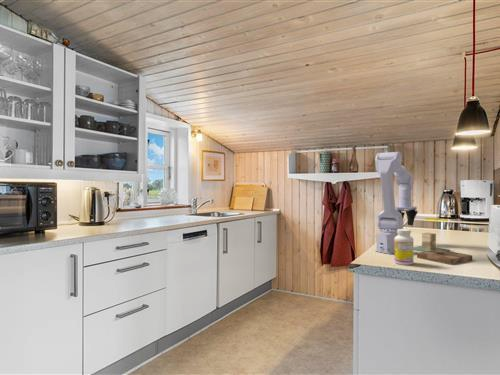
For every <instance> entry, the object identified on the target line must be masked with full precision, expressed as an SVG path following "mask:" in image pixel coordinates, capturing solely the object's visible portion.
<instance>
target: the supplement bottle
mask: <svg viewBox="0 0 500 375" xmlns="http://www.w3.org/2000/svg"><path fill="white" fill-rule="evenodd" d="M411 231H412V230H411V229H408V228H403V229H397V233H398V236H396V237H395V253H394V263H395V264H397V265H402V266H411V265H413V264H414V260H415V258H414V253H415V252H414V251H415V250H413V247H414V238H413V237H412V235H411V233H412V232H411Z"/></svg>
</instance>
